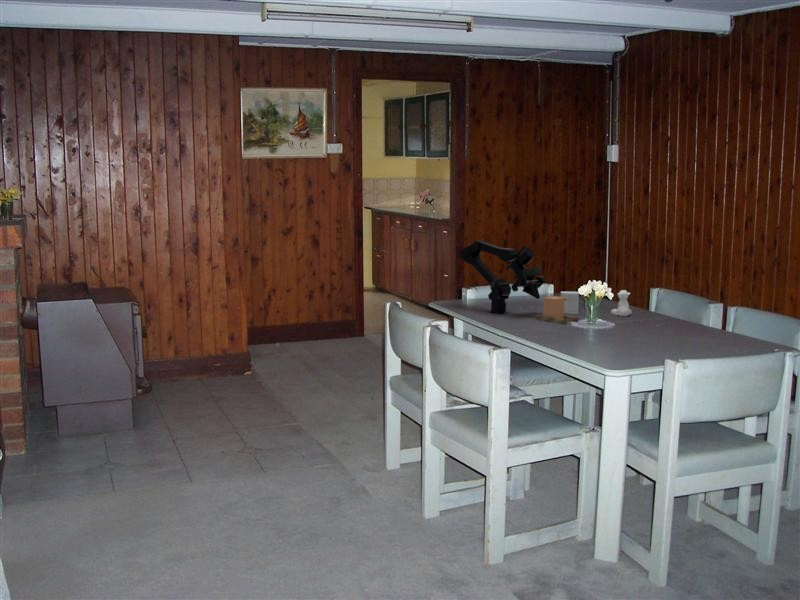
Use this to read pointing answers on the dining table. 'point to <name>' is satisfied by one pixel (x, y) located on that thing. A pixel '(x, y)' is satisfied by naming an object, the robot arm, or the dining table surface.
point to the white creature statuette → (622, 304)
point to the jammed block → (554, 307)
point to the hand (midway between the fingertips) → (538, 298)
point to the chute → (555, 320)
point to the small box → (570, 302)
